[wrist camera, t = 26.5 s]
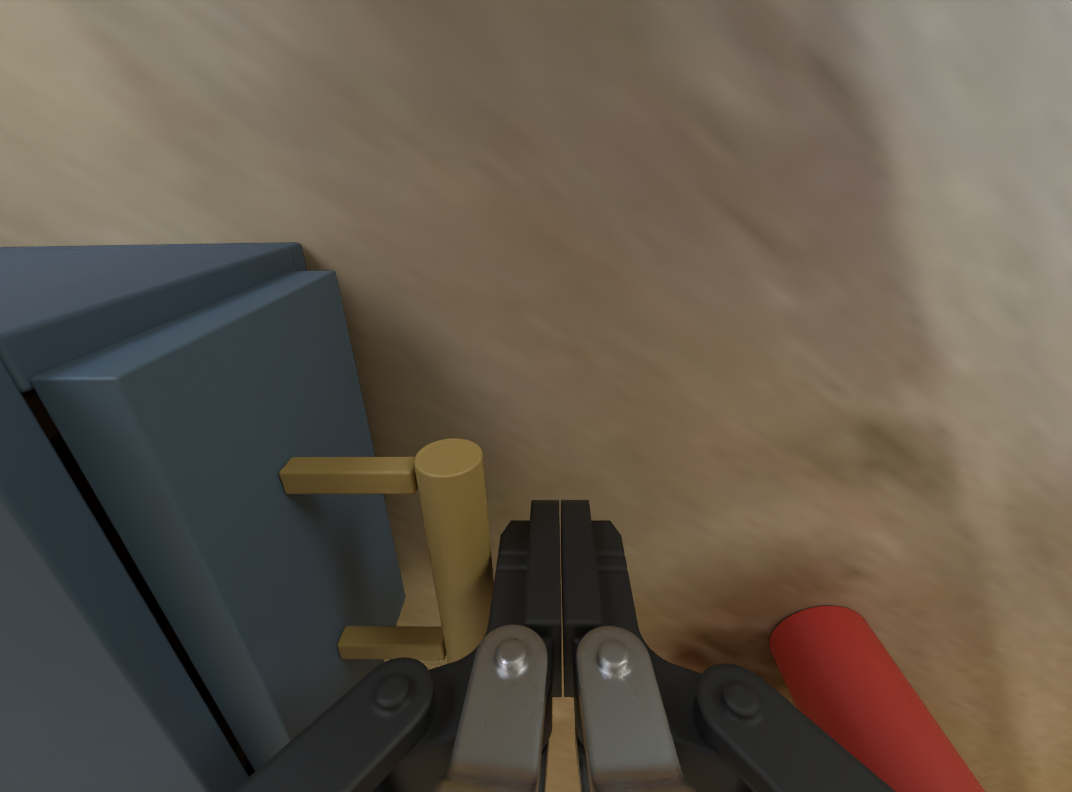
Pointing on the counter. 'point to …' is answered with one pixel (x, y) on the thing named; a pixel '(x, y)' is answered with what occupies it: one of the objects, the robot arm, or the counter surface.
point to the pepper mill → (865, 701)
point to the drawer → (266, 504)
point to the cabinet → (95, 537)
